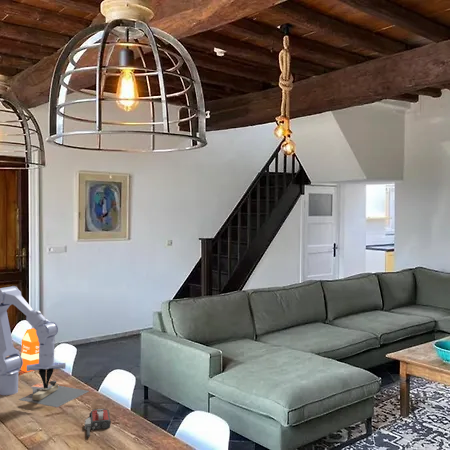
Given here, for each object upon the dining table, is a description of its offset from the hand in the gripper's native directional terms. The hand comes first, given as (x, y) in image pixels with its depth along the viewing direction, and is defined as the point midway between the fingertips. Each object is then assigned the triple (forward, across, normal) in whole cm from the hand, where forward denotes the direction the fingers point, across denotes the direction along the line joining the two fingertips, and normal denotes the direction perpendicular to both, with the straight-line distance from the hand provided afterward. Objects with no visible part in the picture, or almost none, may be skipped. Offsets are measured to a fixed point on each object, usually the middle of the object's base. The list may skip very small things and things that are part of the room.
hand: (45, 387), depth 199 cm
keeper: (+5, -2, +6) cm, 8 cm away
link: (+4, 0, +5) cm, 6 cm away
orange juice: (+6, -7, +46) cm, 47 cm away
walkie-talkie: (+6, +18, -29) cm, 35 cm away
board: (+6, +4, +4) cm, 8 cm away
